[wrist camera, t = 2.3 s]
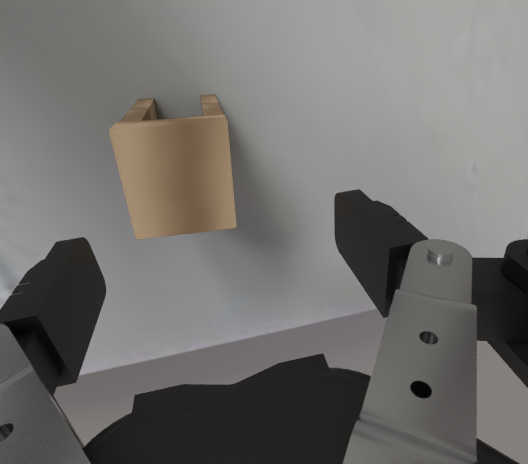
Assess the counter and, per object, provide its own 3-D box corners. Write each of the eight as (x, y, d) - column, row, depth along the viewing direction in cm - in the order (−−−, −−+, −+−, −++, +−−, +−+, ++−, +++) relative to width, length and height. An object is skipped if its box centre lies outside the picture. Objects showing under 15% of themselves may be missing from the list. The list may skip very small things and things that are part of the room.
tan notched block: (153, 174, 30) (135, 239, 21) (137, 96, 27) (108, 130, 18) (222, 168, 31) (236, 227, 22) (214, 91, 28) (227, 121, 18)
